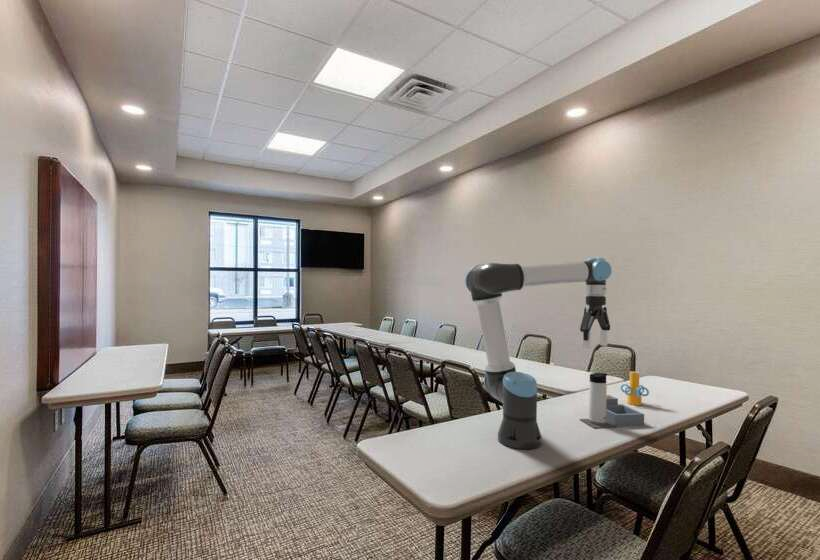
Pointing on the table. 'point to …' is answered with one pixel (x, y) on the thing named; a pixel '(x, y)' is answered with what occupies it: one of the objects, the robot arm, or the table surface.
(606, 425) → the rubber mat
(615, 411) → the grey compartment tray
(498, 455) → the table surface
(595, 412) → the travel mug
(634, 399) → the cylinder
